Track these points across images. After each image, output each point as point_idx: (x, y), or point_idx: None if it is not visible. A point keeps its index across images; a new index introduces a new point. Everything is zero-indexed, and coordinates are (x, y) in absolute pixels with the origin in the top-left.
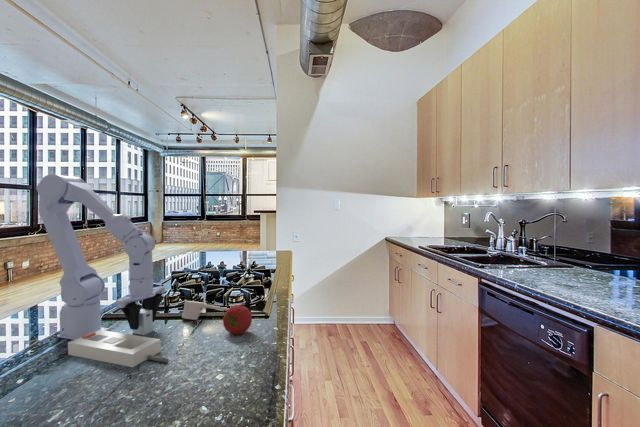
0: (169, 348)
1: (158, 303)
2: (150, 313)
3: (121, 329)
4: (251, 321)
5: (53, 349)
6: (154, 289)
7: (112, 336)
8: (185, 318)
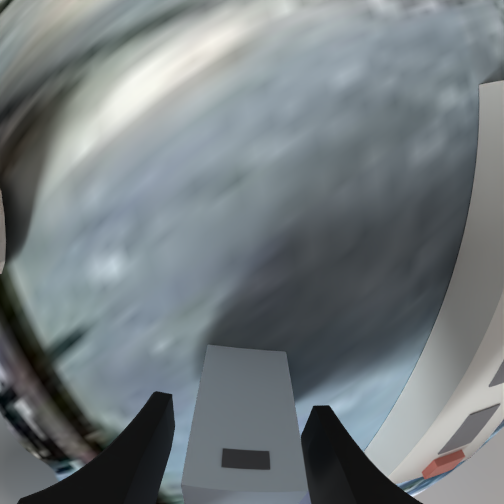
0: (442, 48)
1: (81, 497)
2: (210, 463)
3: None
4: None
5: None
6: None
7: (475, 399)
8: (4, 224)
